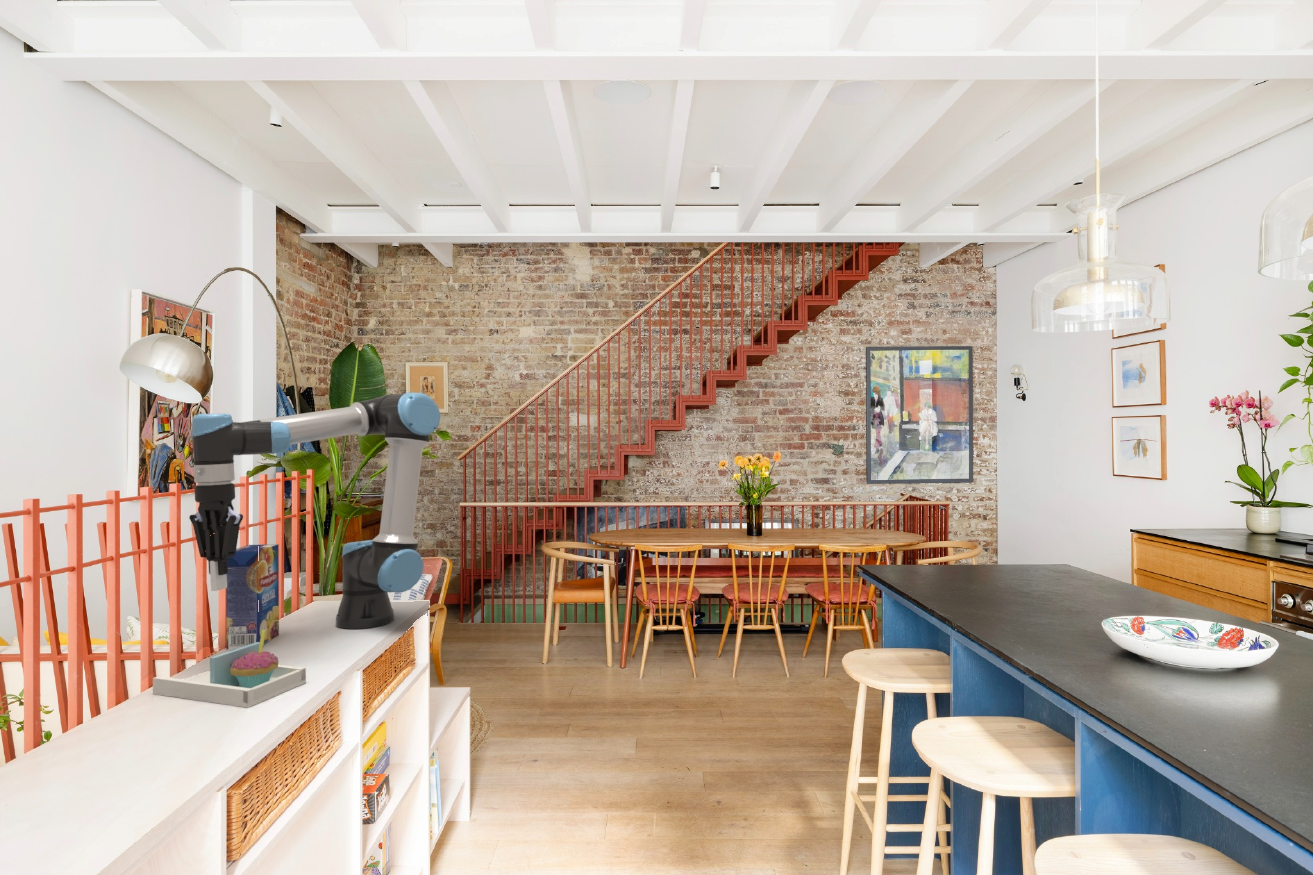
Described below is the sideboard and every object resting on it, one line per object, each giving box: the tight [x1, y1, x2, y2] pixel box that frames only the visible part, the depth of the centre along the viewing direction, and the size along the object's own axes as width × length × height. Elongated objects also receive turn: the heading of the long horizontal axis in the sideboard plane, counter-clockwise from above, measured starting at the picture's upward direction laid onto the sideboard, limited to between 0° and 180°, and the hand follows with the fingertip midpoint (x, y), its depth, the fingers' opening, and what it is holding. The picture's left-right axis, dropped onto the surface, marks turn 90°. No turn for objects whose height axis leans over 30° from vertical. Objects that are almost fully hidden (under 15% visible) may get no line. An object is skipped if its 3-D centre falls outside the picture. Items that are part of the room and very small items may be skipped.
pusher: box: [209, 642, 260, 686], centre depth 142 cm, size 11×5×7 cm, turn 162°
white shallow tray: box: [152, 664, 307, 708], centre depth 142 cm, size 14×25×3 cm, turn 72°
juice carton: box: [225, 543, 280, 651], centre depth 175 cm, size 12×8×24 cm, turn 7°
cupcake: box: [230, 626, 279, 688], centre depth 140 cm, size 9×8×12 cm
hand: (219, 589), depth 152 cm, fingers closed
